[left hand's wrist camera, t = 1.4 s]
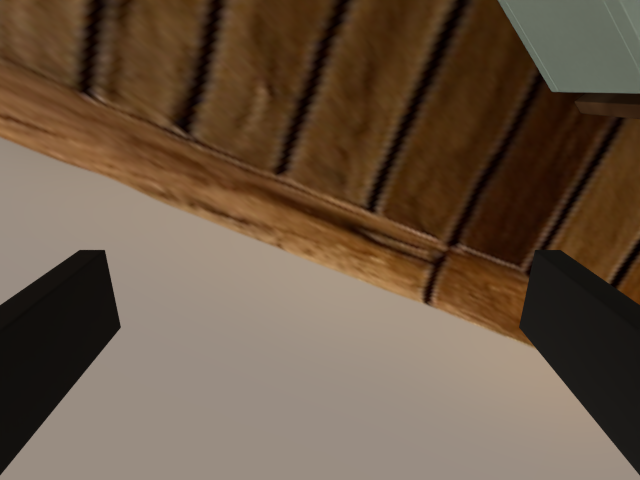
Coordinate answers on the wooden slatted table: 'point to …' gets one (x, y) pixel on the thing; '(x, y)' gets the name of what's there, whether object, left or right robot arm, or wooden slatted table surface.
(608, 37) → the cabinet
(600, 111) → the drawer
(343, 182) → the wooden slatted table surface
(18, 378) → the left robot arm
